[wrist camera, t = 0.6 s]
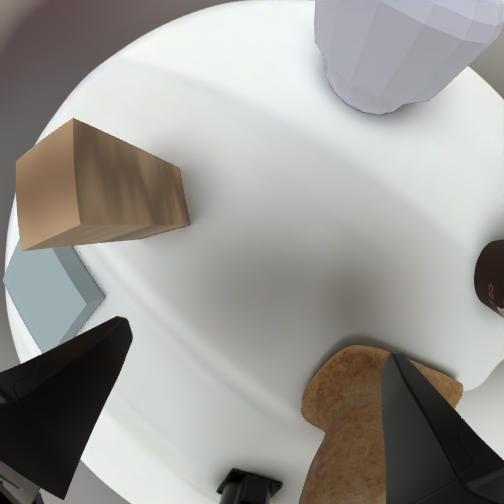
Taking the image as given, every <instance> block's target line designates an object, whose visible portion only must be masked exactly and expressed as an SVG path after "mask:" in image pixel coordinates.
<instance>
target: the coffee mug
mask: <svg viewBox="0 0 504 504" xmlns="http://www.w3.org/2000/svg"><path fill="white" fill-rule="evenodd" d="M474 285H475V291H476V294H477V296H478V298H479V300H480V301H481V302H482V303H484V304H485V305H486V306H488V307H489V308H491V309H492V310H493V311H495V312H496V313H498V314H499V315H500V316H502V317H503V318H504V240H499V241H493V242H491V243H489V244H488V245H487V246H486V247H485V248H484V249H483V250H482V252H481V254H480V256H479V258H478V261H477V264H476V268H475V275H474Z"/></svg>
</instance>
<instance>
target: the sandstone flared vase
mask: <svg viewBox="0 0 504 504" xmlns="http://www.w3.org/2000/svg"><path fill="white" fill-rule="evenodd" d="M390 353H391V352H388V351H385V350H382V349H379V348H375V347H371V346H365V345H351V346H347V347H345V348H343V349H341V350H340V351H338V352H337V353H336V354H334V355H333V356H332V357H331V358H330V359H329V360H328V361H327V362H326V363H325V364H324V365H323V366H322V367H321V368H320V369H319V370H318V371H317V373H316V374H315V375H314V377H313V379H312V380H311V382H310V383H309V385H308V387H307V389H306V391H305V392H304V395H303V398H302V408H301V412H302V415H303V417H304V418H305V419H306V421H308V422H309V423H311V424H312V425H314V426H316V427H317V428H319V429H321V430H323V431H325V432H326V433H325V436H324V440H323V442H322V443H321V445H320V447H319V449H318V451H317V453H316V455H315V457H314V459H313V461H312V463H311V465H310V468H309V471H308V474H307V477H306V480H305V484H304V487H303V490H302V493H301V497H300V500H299V504H386V467H385V449H384V435H383V424H382V413H381V370H382V367H383V365H384V363H385V361H386V359H387V357H388V355H389V354H390ZM409 360H410V359H409ZM410 361H411V362H412V363H413V364H414V365H415V366H416V367H417V369H418V370H419V371H420V372H421V373H422V374H423V375H424V376H425V377H426V378H427V379H428V380H429V381H430V383H431V384H432V385H433V386H434V387H435V388H436V389H437V390H438V391H439V392H440V394H441V395H442V396H443V397H444V398H445V399H446V400H447V401H448V402H449V404H450V405H451V406H452V407H453V408H454V409H455V407H456V405H457V404H458V402H459V400H460V399H461V396H462V393H463V385H462V383H460V382H458V381H457V380H455V379H453V378H450V377H448V376H447V375H445V374H443V373H440V372H438V371H436V370H433V369H430V368H428V367H426V366H424V365H422V364H420V363H417V362H415V361H412V360H410Z"/></svg>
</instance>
